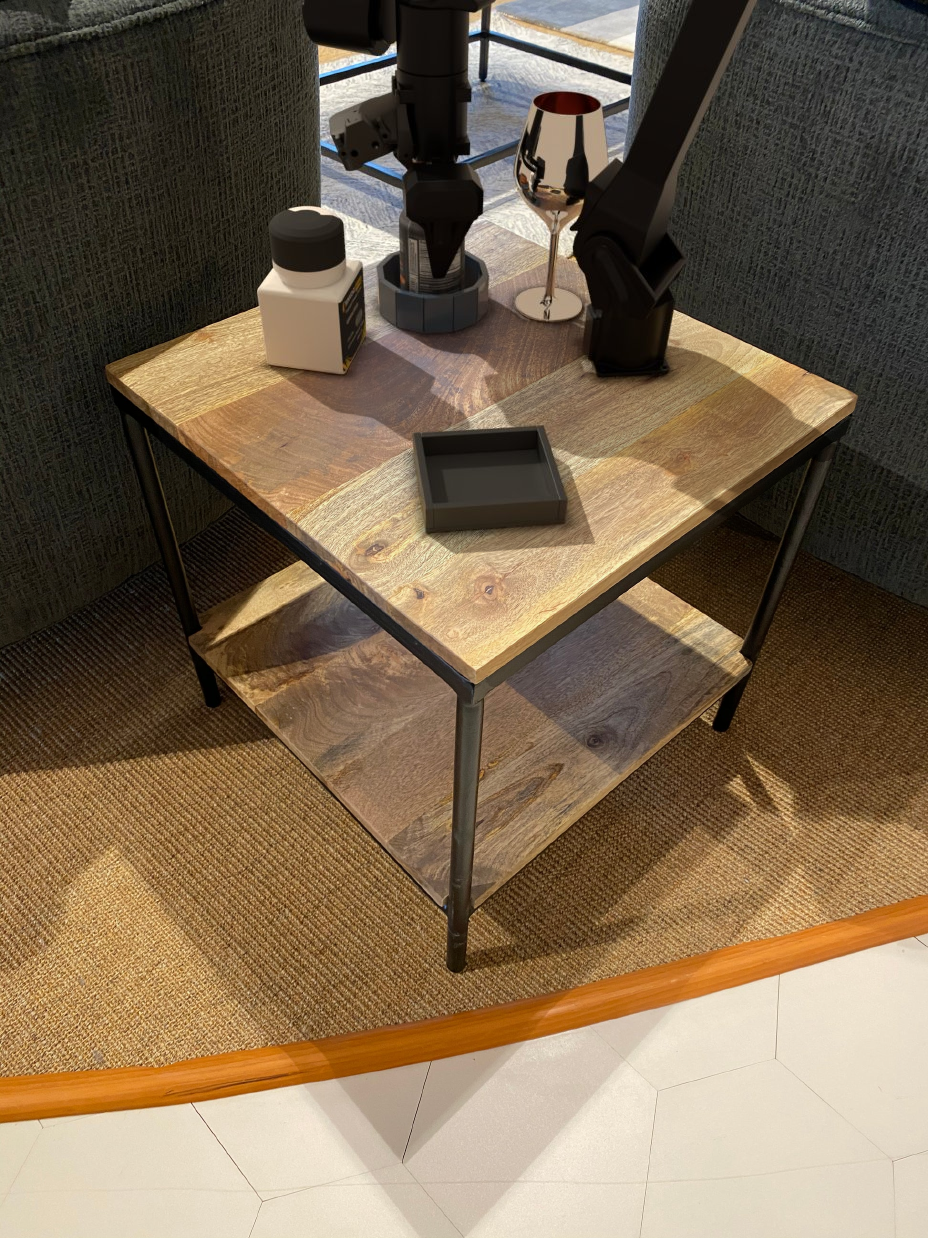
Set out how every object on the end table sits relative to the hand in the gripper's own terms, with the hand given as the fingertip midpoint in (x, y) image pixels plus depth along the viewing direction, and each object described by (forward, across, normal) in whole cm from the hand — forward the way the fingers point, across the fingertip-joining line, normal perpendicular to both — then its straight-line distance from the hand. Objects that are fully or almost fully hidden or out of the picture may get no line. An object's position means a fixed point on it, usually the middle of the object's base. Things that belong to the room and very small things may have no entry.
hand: (432, 253), depth 90 cm
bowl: (+5, 0, 0) cm, 5 cm away
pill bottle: (+5, 0, 0) cm, 5 cm away
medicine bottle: (+5, +7, -11) cm, 14 cm away
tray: (+5, +28, +1) cm, 28 cm away
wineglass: (+5, +1, +11) cm, 12 cm away
